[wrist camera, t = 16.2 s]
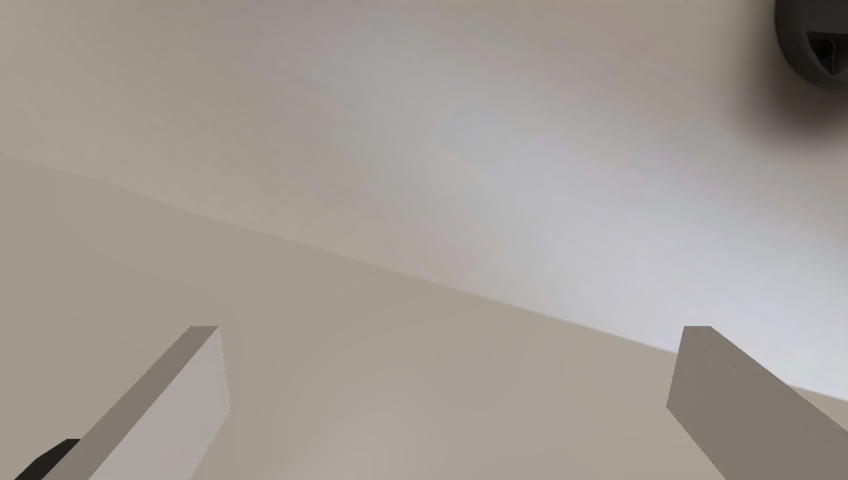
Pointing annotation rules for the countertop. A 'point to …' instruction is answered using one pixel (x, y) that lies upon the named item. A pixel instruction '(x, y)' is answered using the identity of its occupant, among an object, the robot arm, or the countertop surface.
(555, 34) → the countertop surface
